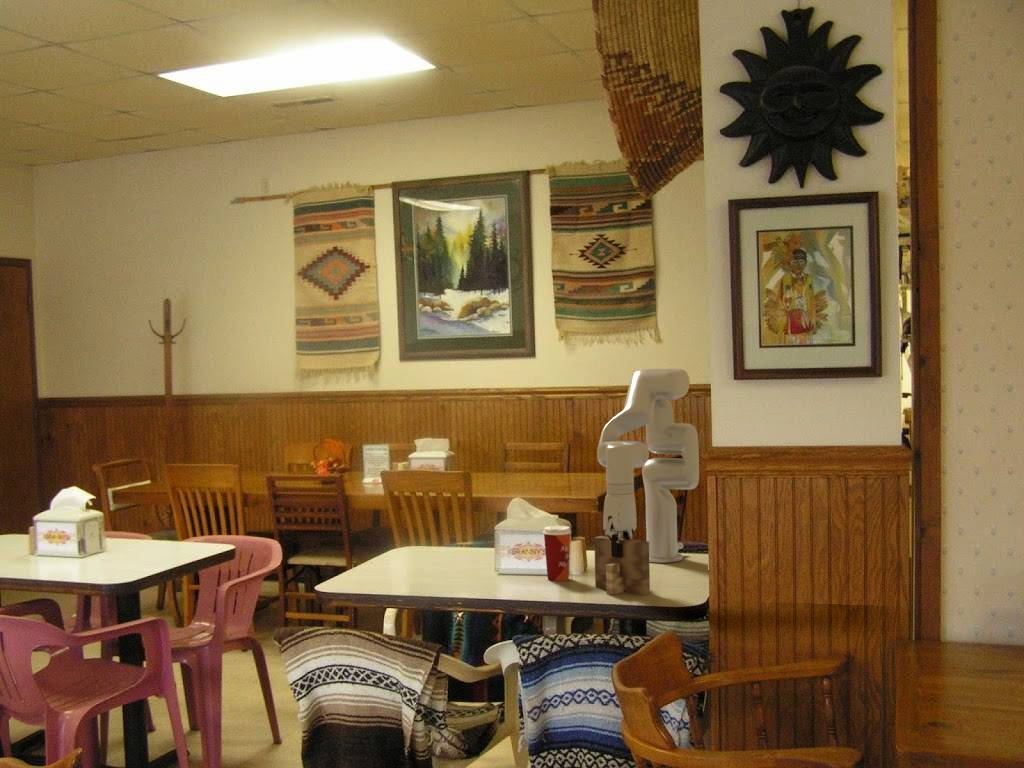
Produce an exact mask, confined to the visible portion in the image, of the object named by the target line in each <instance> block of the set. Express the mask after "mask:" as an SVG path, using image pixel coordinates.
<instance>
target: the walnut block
mask: <svg viewBox="0 0 1024 768" xmlns="http://www.w3.org/2000/svg"><path fill="white" fill-rule="evenodd" d="M620 543H622V558H616V557H612V553H611V543H610V539H609V538H608V537H607V536H606V535H599V536H596V537H595V536H594V582H595V583H594V585H595V588H597V589H604V590H607V589H606V565H607V564H610V563H619V564H620V577H624V578H626V581H627V590H626V593H627V594H634V595H640V596H646V595H648V594H651V591H650V590H651V585H650V584H651V583H650V580H651V579H650V562H649V542H647V541H645V540H639V539H638V540H636V539H632V540H631V539H623V538H622V537H621V542H620Z"/></svg>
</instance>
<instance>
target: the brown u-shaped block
mask: <svg viewBox="0 0 1024 768" xmlns="http://www.w3.org/2000/svg"><path fill="white" fill-rule="evenodd" d="M605 590H606V595H610V596H614V595H617V594H620V593H623V592H625V591H626V592H627V581H626V578H624V577H620V564H619V563H610V564H607V565H606V589H605Z"/></svg>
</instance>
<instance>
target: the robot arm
mask: <svg viewBox="0 0 1024 768" xmlns="http://www.w3.org/2000/svg"><path fill="white" fill-rule="evenodd" d="M690 384H691V383H690V376H689V374H688V371H686V370H685V369H683V368H648V369H647V368H646V369H645V368H644V369H639V370H636V371H635V372H634V373H633V374H632V377H631V379H630V382H629V385H628V389H627V393H626V398H625V401H624V405H623V410H621V411H620V412H619V413H617V414H616V415H615V416H613V417H612V419H610V420H609V421H608V422H607V423H606V424H605V426H604V427H603V428H602V430H601V432H600V433H601V434H600V437H599V442H598V445H597V450H596V458H597V461H598V463H599V464H600V465H601V467H605V478H606V479H605V482H606V486H605V487H606V488H605V489H606V495H605V497H604V498H605V499H604V503H603V517H602V520H603V521H602V523H603V531H604V536H607V537H608V538H609V539H610V543H611V553H612V557H616V558H622V543H620V542H621V538H623V539H631V540H634V539H633V535H634V532H635V530H636V529H637V528H638V527H637V526H638V525H637V506H636V497H635V473H634V471H635V469H637V468H638V469H640V468H641V474H642V475H641V476H642V481H643V485H644V495H645V524H646V525H645V531H646V532H645V534H646V537H645V538H646V541H647V542H649V563H655V564H656V563H657V564H659V563H660V564H667V563H677V562H680V561H682V560H683V555H682V553H679V550H682V549H683V548H684V543H682V542H678V518H677V517H678V515H677V514H678V513H677V509H678V508H677V507H678V506H677V501H676V499H675V497H674V495H673V494H672V493H671V491H670V490H694V489H696V488H697V486H698V485H699V481H700V456H699V455H700V453H699V451H700V450H699V448H700V447H699V445H700V444H699V435H698V430H697V429H696V427H695V426H694V425H693V424H691V423H687V422H686V423H682V422H680V423H679V422H677V423H676V422H674V407H673V405H672V403H671V401H673V400H674V401H676V400H679V399H681V398H683V397H685V396H686V395H687V394H688V392H689V389H690ZM642 427H645V443H644V442H643V441H639V440H617V439H618V438H619V437H621V436H623V435H625V434H626V433H629V432H632V431H634V430H638V429H640V428H642ZM650 453H652V454H660V455H661V454H662V455H681V457H682V458H672V457H654V458H650V459H649V457H650Z"/></svg>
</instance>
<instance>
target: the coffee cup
mask: <svg viewBox="0 0 1024 768" xmlns="http://www.w3.org/2000/svg"><path fill="white" fill-rule="evenodd" d="M571 533H572V530H571V528H570V527H569V526H567V525H548V526H546V527H544V529H543V531H542V534H543V538H544V550H545V564H546V575H547V580H548V581H551V582H565V581H569V575H570V554H571V553H570V549H571V548H570V547H571Z"/></svg>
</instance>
